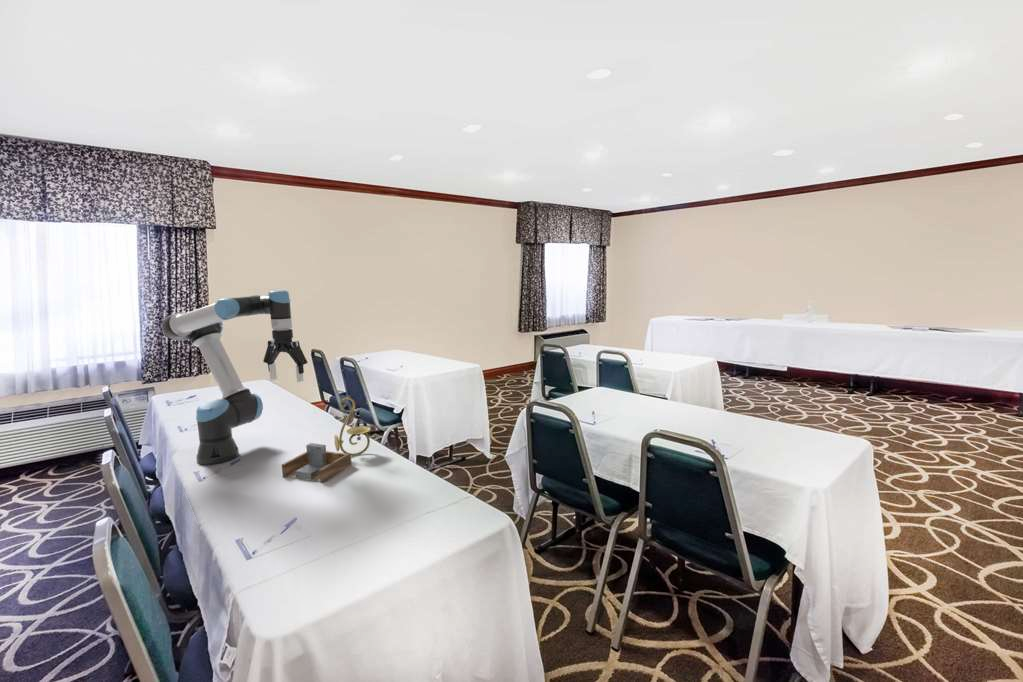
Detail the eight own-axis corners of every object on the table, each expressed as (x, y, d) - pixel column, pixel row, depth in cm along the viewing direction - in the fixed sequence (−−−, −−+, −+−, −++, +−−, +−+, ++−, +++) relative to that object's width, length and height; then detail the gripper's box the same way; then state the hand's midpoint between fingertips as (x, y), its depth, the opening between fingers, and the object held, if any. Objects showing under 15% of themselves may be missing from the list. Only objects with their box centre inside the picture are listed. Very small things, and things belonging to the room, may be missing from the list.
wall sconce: (340, 463, 199) (335, 402, 195) (335, 455, 207) (330, 397, 203) (374, 455, 206) (370, 396, 202) (368, 448, 214) (364, 392, 210)
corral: (282, 477, 187) (281, 464, 186) (313, 460, 202) (312, 448, 201) (323, 483, 181) (322, 470, 180) (351, 465, 196) (350, 453, 195)
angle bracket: (312, 467, 194) (310, 443, 192) (327, 469, 191) (325, 444, 190) (295, 477, 185) (293, 451, 184) (311, 479, 183) (309, 453, 182)
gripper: (250, 329, 202) (255, 380, 205) (300, 331, 193) (305, 384, 197) (265, 327, 209) (270, 376, 212) (313, 328, 200) (318, 380, 204)
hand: (286, 380), depth 204 cm, fingers open, 13 cm apart
